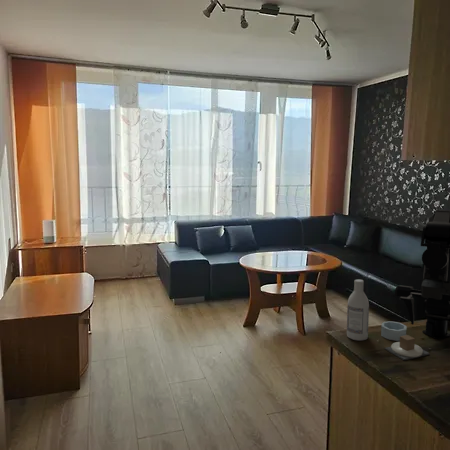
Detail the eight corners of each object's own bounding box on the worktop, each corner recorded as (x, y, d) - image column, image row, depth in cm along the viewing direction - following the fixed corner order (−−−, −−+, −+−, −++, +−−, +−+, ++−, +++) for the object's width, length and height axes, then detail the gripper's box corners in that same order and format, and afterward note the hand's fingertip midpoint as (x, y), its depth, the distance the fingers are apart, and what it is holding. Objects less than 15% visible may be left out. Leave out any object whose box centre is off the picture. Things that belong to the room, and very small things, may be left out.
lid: (406, 342, 132) (407, 329, 132) (429, 354, 124) (430, 340, 123) (385, 346, 129) (385, 334, 129) (406, 359, 121) (407, 345, 120)
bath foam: (357, 331, 143) (359, 276, 140) (372, 338, 137) (374, 281, 134) (342, 335, 140) (343, 279, 137) (356, 342, 134) (358, 284, 131)
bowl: (394, 329, 144) (394, 320, 143) (411, 338, 136) (411, 328, 136) (376, 333, 141) (376, 323, 140) (392, 342, 134) (393, 332, 133)
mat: (409, 343, 132) (409, 342, 132) (429, 354, 125) (429, 353, 125) (384, 349, 129) (384, 347, 129) (403, 360, 121) (403, 358, 121)
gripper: (393, 265, 107) (389, 324, 106) (476, 274, 97) (472, 339, 96) (400, 265, 116) (396, 320, 116) (476, 273, 106) (472, 333, 106)
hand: (431, 327), depth 108 cm, fingers open, 9 cm apart
